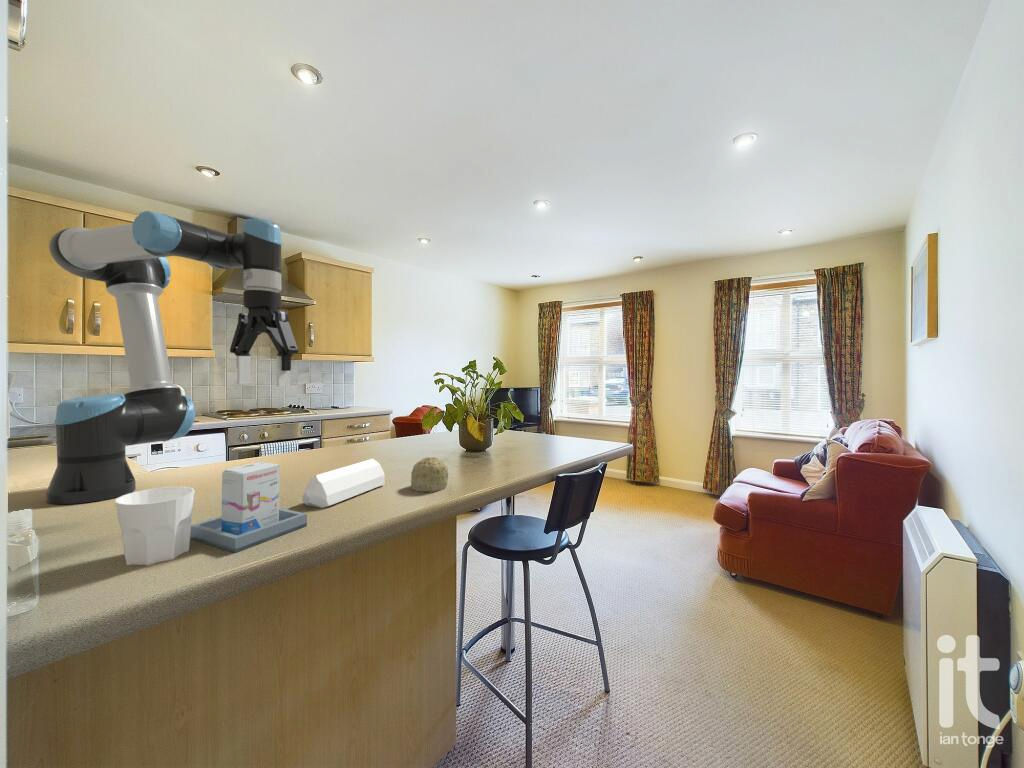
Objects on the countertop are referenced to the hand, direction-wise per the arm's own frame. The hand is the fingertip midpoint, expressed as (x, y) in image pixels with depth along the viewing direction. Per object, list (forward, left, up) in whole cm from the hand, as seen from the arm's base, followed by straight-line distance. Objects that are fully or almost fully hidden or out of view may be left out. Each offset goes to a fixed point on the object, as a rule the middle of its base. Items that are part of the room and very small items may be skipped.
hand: (263, 384), depth 101 cm
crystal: (+13, +12, -27) cm, 33 cm away
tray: (+16, -14, -27) cm, 34 cm away
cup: (+12, -27, -27) cm, 40 cm away
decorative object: (+27, +27, -27) cm, 47 cm away
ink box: (+16, -14, -26) cm, 34 cm away
